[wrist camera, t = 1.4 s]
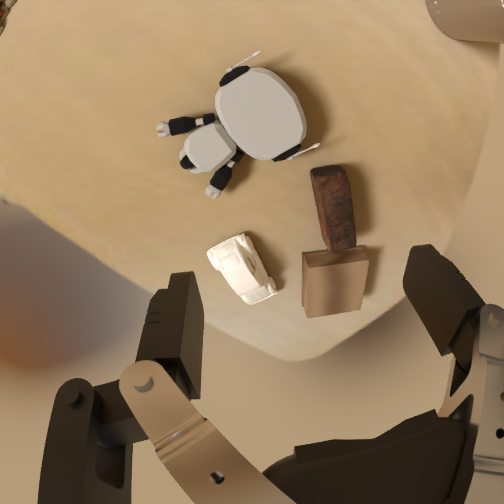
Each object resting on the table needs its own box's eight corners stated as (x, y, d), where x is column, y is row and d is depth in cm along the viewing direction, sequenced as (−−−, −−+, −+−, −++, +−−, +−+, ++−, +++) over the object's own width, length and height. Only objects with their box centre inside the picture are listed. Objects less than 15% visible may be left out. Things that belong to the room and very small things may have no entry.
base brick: (362, 245, 43) (370, 258, 40) (354, 296, 49) (361, 310, 46) (302, 252, 43) (307, 267, 40) (301, 304, 48) (305, 319, 46)
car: (204, 246, 41) (202, 266, 37) (243, 226, 40) (245, 245, 36) (245, 300, 48) (247, 321, 44) (281, 284, 46) (285, 305, 42)
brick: (347, 230, 41) (358, 247, 37) (321, 237, 42) (330, 256, 38) (336, 160, 35) (349, 173, 32) (307, 168, 36) (317, 181, 32)
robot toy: (215, 194, 38) (317, 134, 33) (211, 211, 34) (326, 144, 29) (156, 120, 32) (262, 49, 27) (144, 129, 28) (264, 46, 23)
